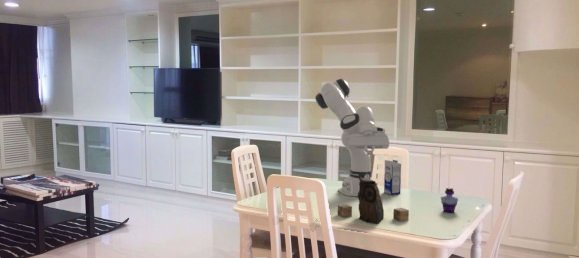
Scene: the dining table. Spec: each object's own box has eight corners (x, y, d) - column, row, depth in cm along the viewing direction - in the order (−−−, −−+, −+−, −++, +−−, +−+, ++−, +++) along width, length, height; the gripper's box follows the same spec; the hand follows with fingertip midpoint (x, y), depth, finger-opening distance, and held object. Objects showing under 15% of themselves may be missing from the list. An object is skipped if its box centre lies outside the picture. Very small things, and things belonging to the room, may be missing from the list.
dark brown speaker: (378, 225, 211) (379, 182, 209) (352, 221, 216) (352, 179, 214) (384, 217, 222) (385, 177, 220) (359, 214, 227) (360, 175, 225)
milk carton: (383, 192, 274) (384, 159, 272) (393, 191, 277) (393, 158, 275) (391, 195, 268) (391, 161, 266) (400, 193, 270) (401, 160, 268)
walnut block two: (393, 219, 220) (393, 208, 220) (401, 217, 223) (401, 207, 222) (400, 221, 216) (400, 211, 216) (408, 220, 218) (408, 209, 218)
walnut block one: (337, 215, 227) (337, 205, 226) (345, 214, 229) (345, 204, 229) (343, 217, 222) (343, 207, 222) (351, 216, 225) (351, 206, 224)
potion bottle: (459, 210, 235) (460, 187, 234) (456, 214, 227) (456, 191, 226) (442, 208, 239) (442, 185, 238) (438, 212, 232) (438, 188, 231)
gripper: (347, 129, 234) (349, 150, 225) (388, 128, 233) (391, 150, 225) (346, 136, 239) (348, 158, 230) (386, 136, 238) (389, 158, 229)
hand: (369, 154), depth 227 cm, fingers closed
